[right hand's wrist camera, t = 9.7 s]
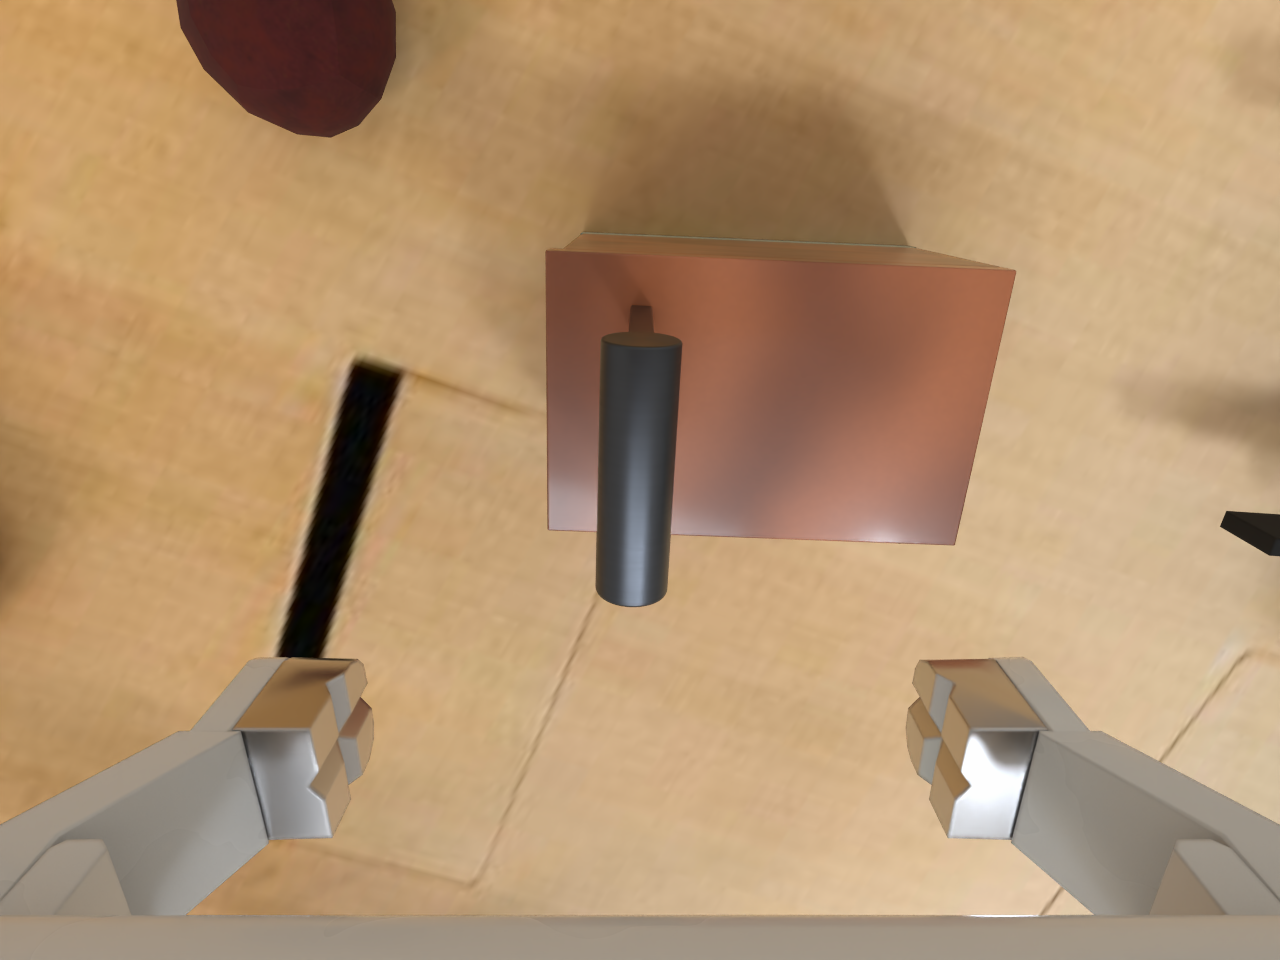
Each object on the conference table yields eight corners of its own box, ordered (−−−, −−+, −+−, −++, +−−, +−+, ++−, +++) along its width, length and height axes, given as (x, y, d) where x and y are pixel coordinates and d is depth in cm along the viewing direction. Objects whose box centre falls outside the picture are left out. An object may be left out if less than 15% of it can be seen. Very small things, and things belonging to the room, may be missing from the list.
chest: (580, 441, 36) (561, 520, 28) (582, 232, 33) (561, 247, 24) (874, 453, 37) (945, 535, 28) (909, 246, 33) (1004, 266, 24)
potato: (392, -92, 28) (317, -177, 22) (440, 129, 31) (387, 113, 24) (209, -61, 28) (80, -135, 22) (272, 155, 31) (175, 146, 25)
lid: (550, 520, 28) (514, 649, 20) (548, 248, 24) (504, 277, 16) (945, 535, 28) (1062, 669, 20) (1004, 267, 24) (1174, 305, 16)
